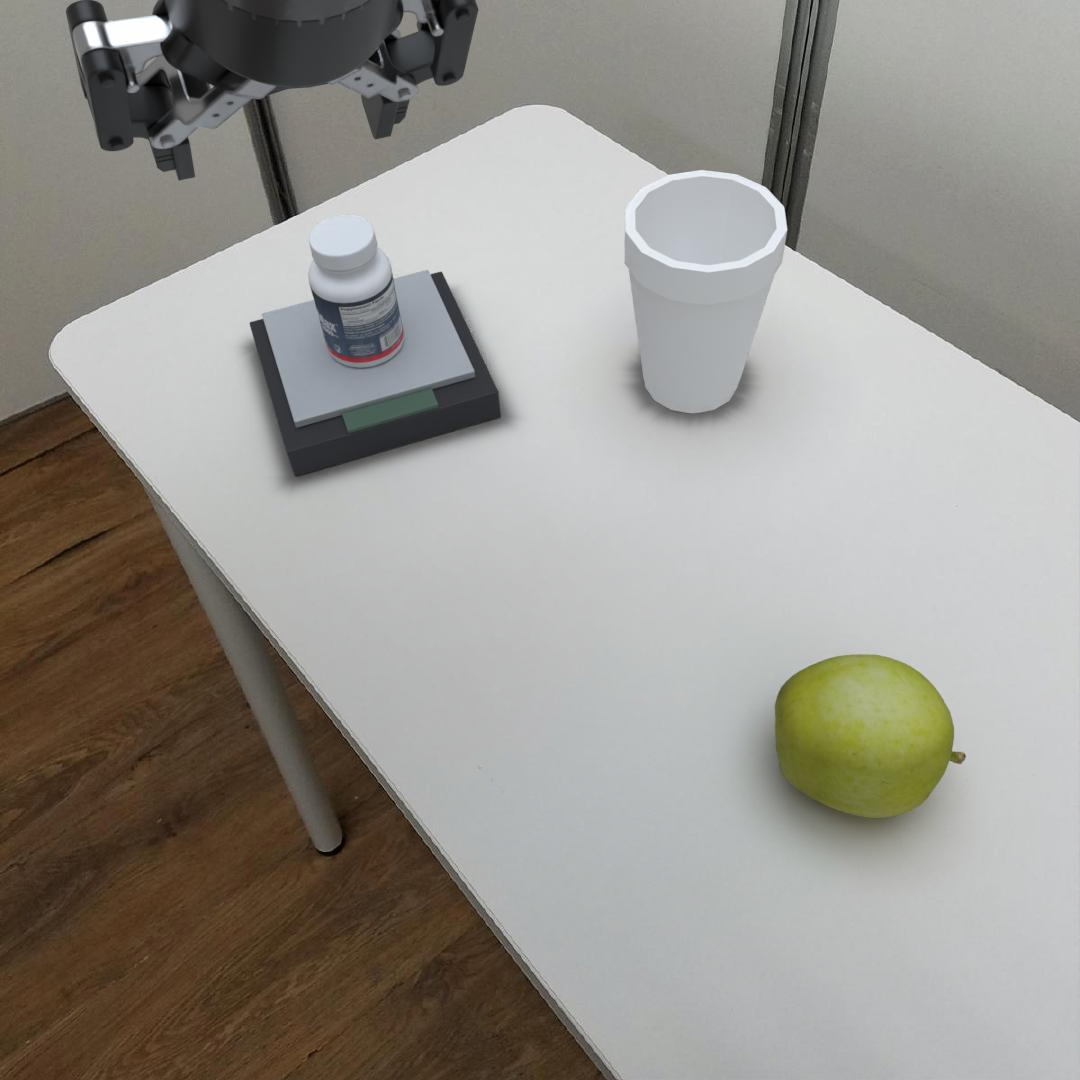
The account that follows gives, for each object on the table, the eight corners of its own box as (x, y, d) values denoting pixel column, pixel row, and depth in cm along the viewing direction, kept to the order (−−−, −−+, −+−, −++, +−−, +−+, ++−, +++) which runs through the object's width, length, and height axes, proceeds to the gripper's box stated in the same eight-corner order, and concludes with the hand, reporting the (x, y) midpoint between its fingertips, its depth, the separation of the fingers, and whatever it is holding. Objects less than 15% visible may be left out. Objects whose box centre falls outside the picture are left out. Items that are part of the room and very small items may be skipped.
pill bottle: (320, 326, 75) (290, 217, 68) (394, 307, 76) (373, 198, 68) (336, 378, 72) (306, 270, 65) (413, 358, 72) (393, 249, 65)
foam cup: (606, 416, 73) (606, 258, 62) (636, 323, 78) (642, 162, 67) (750, 441, 71) (775, 282, 60) (771, 343, 76) (798, 181, 66)
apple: (950, 852, 54) (996, 783, 48) (762, 833, 55) (783, 763, 49) (936, 711, 59) (976, 631, 52) (763, 696, 60) (782, 615, 53)
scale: (295, 477, 71) (284, 446, 68) (257, 347, 78) (246, 315, 76) (501, 417, 73) (498, 385, 71) (445, 296, 81) (440, 263, 78)
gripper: (476, -261, 33) (410, 26, 49) (-16, -204, 30) (82, 86, 46) (551, -27, 33) (461, 186, 49) (67, 58, 30) (137, 258, 45)
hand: (279, 137), depth 47 cm, fingers open, 8 cm apart
